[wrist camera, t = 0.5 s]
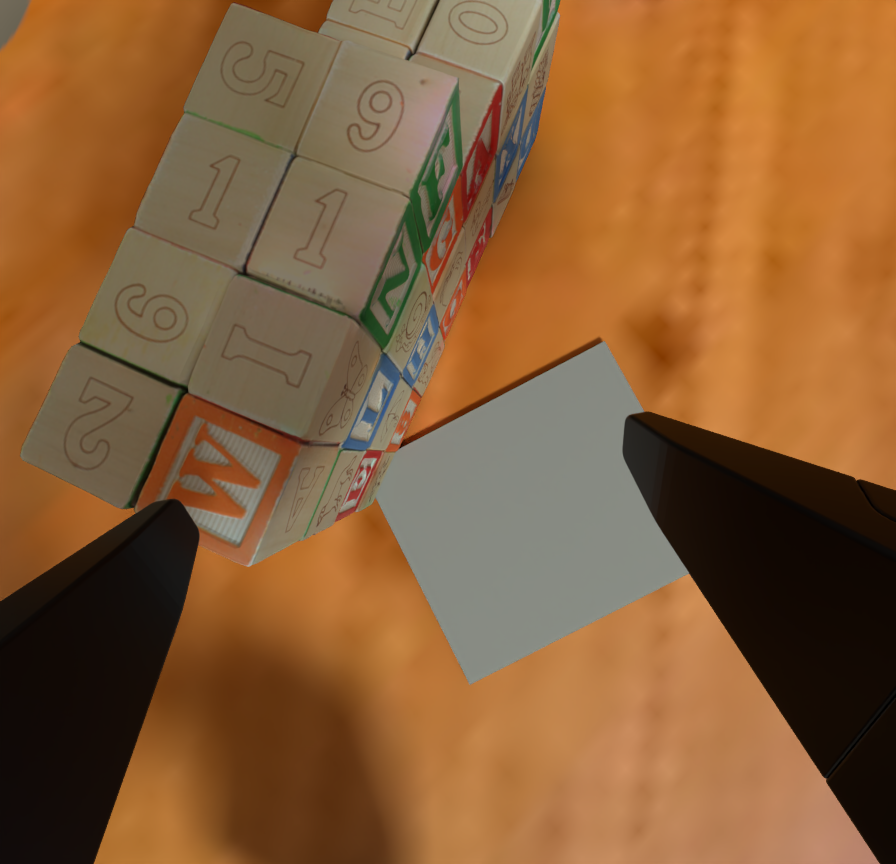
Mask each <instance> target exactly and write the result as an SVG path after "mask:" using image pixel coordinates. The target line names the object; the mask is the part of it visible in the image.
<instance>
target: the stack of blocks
mask: <svg viewBox="0 0 896 864" xmlns="http://www.w3.org/2000/svg"><path fill="white" fill-rule="evenodd" d="M559 4H560V0H333V2H332V4H331V6H330V8H329V11H328V13H327V19H326V21H325V22H324V23H323V24H322V26H321V28H320V29H319V31H318V33H316V32H312V31H309V30H306V29H303V28H301V27H298V26H296V25H293V24H291V23H288V22H285V21H283V20H280V19H277V18H275V17H272V16H270V15H267V14H265V13H262V12H260V11H257V10H255V9H252V8H250V7H247V6H245V5H242V4H238V3H235V2H234V3H232V4H231V6H230V7H229V9H228V11H227V13H226V15H225V17H224V19H223V21H222V23H221V25H220V28H219V30H218V32H217V34H216V36H215V38H214V40H213V43H212V45H211V47H210V49H209V52H208V54H207V56H206V58H205V60H204V63H203V65H202V67H201V69H200V71H199V73H198V75H197V78H196V80H195V82H194V84H193V87H192V89H191V91H190V93H189V96H188V98H187V100H186V103H185V105H184V114H183V116H182V117H181V119H180V120H179V122H178V124H177V126H176V128H175V130H174V131H173V133H172V135H171V137H170V139H169V141H168V144H167V146H166V148H165V151H164V153H163V155H162V157H161V160H160V162H159V164H158V167H157V169H156V172H155V174H154V177H153V178H152V180H151V182H150V184H149V186H148V188H147V190H146V192H145V194H144V196H143V199H142V201H141V204H140V206H139V209H138V211H137V214H136V218H135V223H134V226H132V227H131V228H129V229H128V230H127V232H126V234H125V236H124V238H123V240H122V242H121V244H120V246H119V248H118V251H117V253H116V255H115V258H114V260H113V262H112V264H111V266H110V268H109V271H108V273H107V275H106V277H105V279H104V281H103V283H102V285H101V287H100V289H99V291H98V293H97V295H96V298H95V300H94V302H93V304H92V306H91V308H90V311H89V313H88V315H87V318H86V320H85V322H84V325H83V327H82V328H81V330H80V333H79V339H80V343H78V344H76V345H74V346H72V347H71V348H70V349H69V350H68V352H67V354H66V356H65V358H64V360H63V362H62V364H61V366H60V368H59V370H58V372H57V374H56V377H55V379H54V381H53V383H52V385H51V387H50V389H49V392H48V394H47V396H46V398H45V400H44V402H43V404H42V406H41V408H40V410H39V412H38V414H37V417H36V419H35V421H34V423H33V425H32V427H31V429H30V431H29V433H28V435H27V437H26V439H25V441H24V443H23V445H22V449H21V454H20V457H21V458H22V460H23V461H25V462H27V463H30V464H32V465H34V466H36V467H38V468H40V469H42V470H44V471H46V472H48V473H50V474H52V475H54V476H56V477H58V478H60V479H62V480H64V481H66V482H68V483H70V484H72V485H75V486H77V487H79V488H81V489H83V490H85V491H87V492H89V493H91V494H92V495H94V496H96V497H98V498H100V499H102V500H104V501H106V502H108V503H110V504H112V505H114V506H115V507H118V508H121V509H129V508H134V511H135V513H137V512H139V511H140V510H142V509H143V508H145V507H146V506H148V505H150V504H151V503H153V502H156V501H162V500H167V499H177V500H179V501H180V502H181V503H182V504H183V505H184V507H185V508H186V510H187V511H188V513H189V515H190V516H191V518H192V519H193V521H194V522H195V524H196V525H197V527H198V530H199V534H200V538H199V544H198V545H199V546H201V547H204V548H206V549H208V550H210V551H212V552H214V553H216V554H219V555H221V556H223V557H225V558H227V559H229V560H232V561H234V562H236V563H239V564H242V565H245V566H251V565H253V564H256V563H258V562H260V561H262V560H264V559H265V558H267V557H269V556H271V555H273V554H275V553H277V552H279V551H281V550H283V549H284V548H286V547H288V546H290V545H291V544H293V543H295V542H297V541H303V540H305V539H307V538H309V537H310V536H311V535H315V534H317V533H318V532H320V531H323V530H325V529H326V528H328V527H330V526H332V525H333V524H334V522H336V521H338V520H341V519H342V518H344V517H346V516H348V515H350V514H352V513H353V512H359V511H361V510H363V509H365V508H366V507H368V506H369V505H371V504H372V503H373V501H374V499H375V497H376V494H377V492H378V490H379V488H380V486H381V483H382V481H383V479H384V477H385V475H386V472H387V470H388V468H389V466H390V464H391V461H392V459H393V457H394V455H395V452H396V451H398V449H399V447H400V445H401V443H402V441H403V439H404V436H405V434H406V432H407V430H408V427H409V425H410V423H411V421H412V418H413V416H414V414H415V412H416V409H417V407H418V405H419V403H420V400H421V397H422V396H423V394H424V392H425V390H426V387H427V385H428V383H429V381H430V379H431V377H432V374H433V372H434V370H435V368H436V365H437V363H438V361H439V359H440V356H441V354H442V352H443V350H444V347H445V344H444V341H445V339H446V337H447V335H448V333H449V331H450V328H451V326H452V323H453V321H454V319H455V317H456V315H457V313H458V310H459V308H460V306H461V304H462V301H463V299H464V297H465V295H466V290H467V287H468V285H469V283H470V281H471V279H472V276H473V274H474V272H475V270H476V267H477V265H478V263H479V260H480V258H481V256H482V254H483V251H484V249H485V247H486V245H487V242H488V239H489V238H491V237H492V236H493V235H494V232H495V230H496V228H497V226H498V224H499V221H500V219H501V217H502V215H503V212H504V210H505V208H506V206H507V204H508V201H509V199H510V197H511V195H512V192H513V190H514V187H515V183H516V181H517V179H518V177H519V175H520V173H521V170H522V168H523V166H524V164H525V161H526V159H527V157H528V154H529V152H530V150H531V147H532V145H533V143H534V141H535V138H536V135H537V131H538V126H539V120H540V114H541V110H542V104H543V99H544V95H545V90H546V83H547V81H548V77H549V71H550V66H551V61H552V56H553V52H554V46H555V41H556V36H557V31H558V26H559V19H560V14H559V13H558V12H557V11H558V7H559Z"/></svg>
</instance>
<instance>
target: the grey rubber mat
mask: <svg viewBox="0 0 896 864" xmlns="http://www.w3.org/2000/svg"><path fill="white" fill-rule="evenodd" d="M641 412H644V410H643V409H642V407H641V405H640V403H639V402H638V400H637V398H636V396H635V394H634V393H633V391H632V389H631V387H630V385H629V384H628V382H627V380H626V378H625V377H624V375H623V373H622V371H621V369H620V368H619V366H618V364H617V362H616V360H615V359H614V357H613V355H612V353H611V352H610V350H609V348H608V346H607V344H606V343H605V341H604V342H602V343H600V344H598V345H596V346H594V347H592V348H591V349H589V350H587V351H585V352H583V353H581V354H579V355H577V356H575V357H573V358H571V359H570V360H568V361H566V362H564V363H562V364H560V365H558V366H556V367H554V368H552V369H551V370H549V371H547V372H545V373H543V374H541V375H539V376H537V377H535V378H533V379H531V380H530V381H528V382H526V383H524V384H522V385H520V386H518V387H516V388H514V389H512V390H510V391H509V392H507V393H505V394H503V395H501V396H499V397H497V398H495V399H493V400H491V401H490V402H488V403H486V404H484V405H482V406H480V407H478V408H476V409H474V410H472V411H470V412H469V413H467V414H465V415H463V416H461V417H459V418H457V419H455V420H453V421H451V422H450V423H448V424H446V425H444V426H442V427H440V428H438V429H436V430H434V431H432V432H430V433H429V434H427V435H425V436H423V437H421V438H419V439H417V440H415V441H413V442H411V443H410V444H408V445H406V446H404V447H402V448H400V449H398V451H396V452H395V455H394V457H393V459H392V461H391V464H390V466H389V468H388V470H387V472H386V475H385V477H384V479H383V481H382V483H381V486H380V488H379V490H378V492H377V494H376V499H377V501H378V503H379V505H380V507H381V509H382V511H383V513H384V515H385V517H386V519H387V521H388V523H389V525H390V527H391V529H392V531H393V533H394V535H395V537H396V539H397V541H398V543H399V545H400V547H401V549H402V551H403V553H404V555H405V557H406V559H407V561H408V563H409V565H410V567H411V569H412V571H413V573H414V575H415V577H416V579H417V581H418V583H419V585H420V587H421V589H422V591H423V592H424V594H425V596H426V598H427V600H428V602H429V604H430V606H431V608H432V610H433V612H434V614H435V616H436V618H437V620H438V622H439V624H440V626H441V628H442V630H443V632H444V634H445V636H446V638H447V640H448V642H449V644H450V646H451V648H452V650H453V652H454V654H455V656H456V658H457V660H458V662H459V664H460V666H461V668H462V670H463V672H464V674H465V676H466V678H467V680H468V682H469V684H472V683H474V682H476V681H478V680H480V679H482V678H484V677H486V676H488V675H490V674H492V673H494V672H496V671H498V670H500V669H502V668H504V667H506V666H508V665H510V664H511V663H513V662H515V661H517V660H519V659H521V658H523V657H525V656H527V655H529V654H531V653H533V652H535V651H537V650H539V649H541V648H543V647H545V646H547V645H549V644H551V643H553V642H555V641H557V640H559V639H561V638H563V637H565V636H567V635H569V634H571V633H573V632H575V631H577V630H578V629H580V628H582V627H584V626H586V625H588V624H590V623H592V622H594V621H596V620H598V619H600V618H602V617H604V616H606V615H608V614H610V613H612V612H614V611H616V610H618V609H620V608H622V607H624V606H626V605H628V604H630V603H632V602H634V601H636V600H638V599H640V598H642V597H643V596H645V595H647V594H649V593H651V592H653V591H655V590H657V589H659V588H661V587H663V586H665V585H667V584H669V583H671V582H673V581H675V580H677V579H679V578H681V577H683V576H685V575H687V574H689V572H688V571H687V569H686V568H685V566H684V565H683V563H682V562H681V560H680V559H679V557H678V556H677V554H676V553H675V551H674V549H673V548H672V546H671V545H670V543H669V542H668V540H667V539H666V537H665V536H664V534H663V533H662V531H661V530H660V528H659V526H658V525H657V523H656V521H655V520H654V518H653V516H652V514H651V512H650V510H649V508H648V506H647V504H646V502H645V500H644V498H643V496H642V494H641V492H640V490H639V488H638V486H637V484H636V482H635V480H634V478H633V476H632V474H631V472H630V470H629V468H628V466H627V464H626V462H625V460H624V457H623V453H622V446H623V435H624V423H625V419H626V417H627V416H628V415H630V414H635V413H641Z"/></svg>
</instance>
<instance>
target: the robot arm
mask: <svg viewBox="0 0 896 864" xmlns="http://www.w3.org/2000/svg"><path fill="white" fill-rule="evenodd" d="M622 453H623V457H624V460H625V462H626V464H627V466H628V468H629V470H630V472H631V474H632V476H633V478H634V480H635V482H636V484H637V486H638V488H639V490H640V492H641V494H642V496H643V498H644V500H645V502H646V504H647V506H648V508H649V510H650V512H651V514H652V516H653V518H654V520H655V521H656V523H657V525H658V526H659V528H660V530H661V531H662V533H663V534H664V536H665V537H666V539H667V540H668V542H669V543H670V545H671V546H672V548H673V549H674V551H675V553H676V554H677V556H678V557H679V559H680V560H681V562H682V563H683V565H684V566H685V568H686V569H687V571H688V572H689V574H690V575H691V577H692V578H693V580H694V581H695V583H696V584H697V586H698V587H699V589H700V591H701V592H702V594H703V595H704V597H705V598H706V600H707V601H708V603H709V604H710V606H711V607H712V609H713V610H714V612H715V613H716V615H717V616H718V618H719V619H720V621H721V622H722V624H723V625H724V627H725V629H726V630H727V632H728V633H729V635H730V636H731V638H732V639H733V641H734V642H735V644H736V645H737V647H738V648H739V650H740V651H741V653H742V654H743V656H744V657H745V659H746V660H747V662H748V663H749V665H750V667H751V668H752V670H753V671H754V673H755V674H756V676H757V677H758V679H759V680H760V682H761V683H762V685H763V686H764V688H765V689H766V691H767V692H768V694H769V695H770V697H771V698H772V700H773V701H774V703H775V705H776V706H777V708H778V709H779V711H780V712H781V714H782V715H783V717H784V718H785V720H786V721H787V723H788V724H789V726H790V727H791V729H792V730H793V732H794V733H795V735H796V736H797V738H798V739H799V741H800V743H801V744H802V746H803V747H804V749H805V750H806V752H807V753H808V755H809V756H810V758H811V759H812V761H813V762H814V764H815V765H816V767H817V768H818V770H819V771H820V773H821V774H822V776H823V777H824V778H826V783H827V784H828V786H829V787H830V789H831V790H832V792H833V793H834V795H835V796H836V798H837V799H838V801H839V803H840V804H841V806H842V807H843V809H844V810H845V812H846V813H847V815H848V816H849V818H850V819H851V821H852V822H853V824H854V825H855V827H856V828H857V830H858V831H859V833H860V834H861V836H862V837H863V839H864V841H865V842H866V844H867V845H868V847H869V848H870V850H871V851H872V853H873V854H874V856H875V857H876V859H877V860H878V862H879V863H880V864H896V490H893V489H889V488H886V487H883V486H880V485H877V484H874V483H871V482H868V481H865V480H861V479H859V480H857V481H856V479H855V478H854V477H852V476H849V475H845V474H842V473H839V472H836V471H833V470H830V469H827V468H824V467H820V466H817V465H814V464H811V463H808V462H805V461H802V460H799V459H795V458H792V457H789V456H786V455H783V454H780V453H777V452H774V451H770V450H767V449H764V448H761V447H758V446H755V445H752V444H749V443H745V442H742V441H739V440H736V439H733V438H730V437H727V436H724V435H721V434H717V433H714V432H711V431H708V430H705V429H702V428H699V427H696V426H692V425H689V424H686V423H683V422H680V421H677V420H674V419H671V418H667V417H664V416H661V415H658V414H655V413H652V412H641V413H635V414H630V415H628V416H627V417H626V419H625V423H624V435H623V446H622ZM199 538H200V534H199V530H198V527H197V525H196V524H195V522H194V521H193V519H192V518H191V516H190V515H189V513H188V511H187V510H186V508H185V507H184V505H183V504H182V503H181V502H180V501H179V500H177V499H167V500H162V501H156V502H153V503H151V504H150V505H148V506H146V507H145V508H143V509H142V510H140V511H139V512H137V513H136V514H134V515H133V516H131V517H130V518H128V519H126V520H125V521H123V522H122V523H120V524H119V525H117V526H116V527H114V528H113V529H111V530H110V531H108V532H106V533H105V534H103V535H102V536H100V537H99V538H97V539H96V540H94V541H93V542H91V543H90V544H88V545H86V546H85V547H83V548H82V549H80V550H79V551H77V552H76V553H74V554H73V555H71V556H70V557H68V558H66V559H65V560H63V561H62V562H60V563H59V564H57V565H56V566H54V567H53V568H51V569H50V570H48V571H46V572H45V573H43V574H42V575H40V576H39V577H37V578H36V579H34V580H33V581H31V582H30V583H28V584H26V585H25V586H23V587H22V588H20V589H19V590H17V591H16V592H14V593H13V594H11V595H10V596H8V597H6V598H5V599H3V600H2V601H0V864H94V862H95V859H96V856H97V853H98V850H99V847H100V844H101V842H102V839H103V836H104V833H105V830H106V827H107V825H108V822H109V819H110V816H111V813H112V810H113V807H114V805H115V802H116V799H117V796H118V793H119V790H120V787H121V785H122V782H123V779H124V776H125V773H126V770H127V768H128V765H129V762H130V759H131V756H132V753H133V750H134V748H135V745H136V742H137V739H138V736H139V733H140V731H141V728H142V725H143V722H144V719H145V716H146V713H147V711H148V708H149V705H150V702H151V699H152V696H153V694H154V691H155V688H156V685H157V682H158V679H159V676H160V674H161V671H162V668H163V665H164V662H165V659H166V657H167V654H168V651H169V648H170V645H171V642H172V639H173V637H174V634H175V631H176V628H177V625H178V622H179V619H180V616H181V613H182V610H183V606H184V602H185V599H186V594H187V590H188V586H189V582H190V578H191V573H192V569H193V565H194V561H195V556H196V552H197V548H198V544H199Z"/></svg>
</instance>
